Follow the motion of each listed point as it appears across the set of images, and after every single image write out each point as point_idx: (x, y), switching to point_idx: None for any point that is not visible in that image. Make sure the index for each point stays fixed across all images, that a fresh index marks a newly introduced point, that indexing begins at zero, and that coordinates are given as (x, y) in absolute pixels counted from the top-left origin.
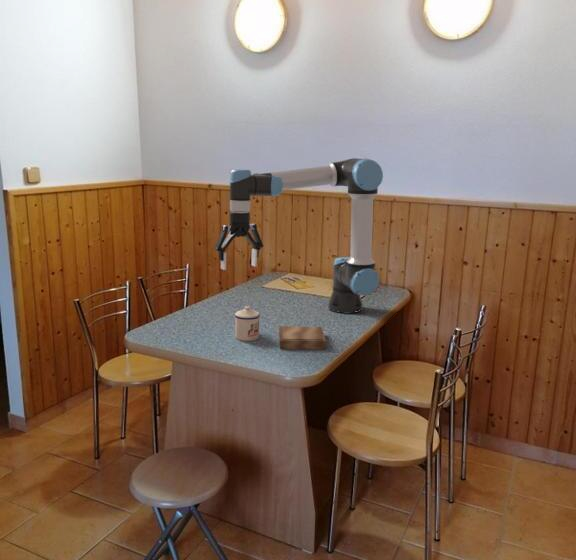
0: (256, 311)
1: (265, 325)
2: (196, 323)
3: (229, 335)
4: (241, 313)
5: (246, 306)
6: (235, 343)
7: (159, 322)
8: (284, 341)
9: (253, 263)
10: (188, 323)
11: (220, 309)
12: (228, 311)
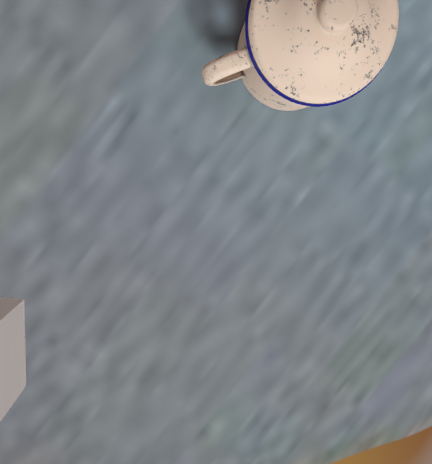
0: (260, 8)
1: (115, 140)
2: (330, 333)
3: (329, 127)
4: (380, 13)
5: (339, 19)
6: None
7: (422, 415)
8: None
9: (4, 362)
10: (353, 350)
11: (144, 426)
12: (132, 389)
